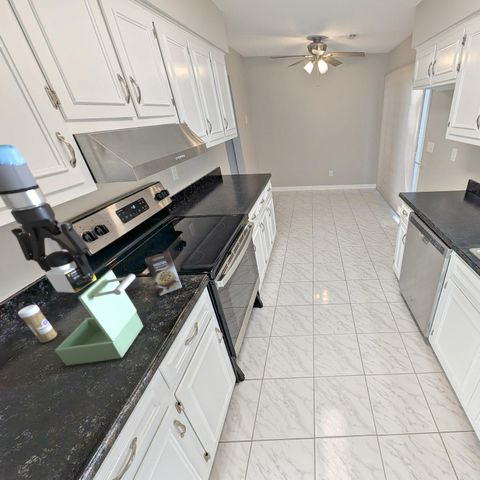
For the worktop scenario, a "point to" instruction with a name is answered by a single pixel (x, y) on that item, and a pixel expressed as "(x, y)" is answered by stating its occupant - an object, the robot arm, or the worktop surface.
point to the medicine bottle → (66, 273)
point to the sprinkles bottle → (37, 323)
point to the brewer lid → (109, 303)
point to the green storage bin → (97, 342)
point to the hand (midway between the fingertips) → (71, 275)
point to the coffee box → (163, 273)
